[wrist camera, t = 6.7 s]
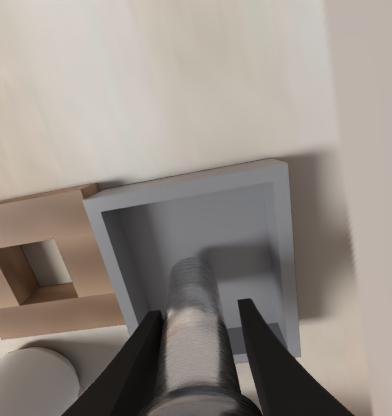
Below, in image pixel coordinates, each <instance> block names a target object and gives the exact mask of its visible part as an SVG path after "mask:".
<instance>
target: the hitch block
mask: <svg viewBox="0 0 392 416" xmlns="http://www.w3.org/2000/svg"><path fill="white" fill-rule="evenodd" d="M98 192H99V189H98V186H97V183H93V184H87V185H82V186H77V187H72V188H66V189H61V190H56V191H50V192H45V193H40V194H35V195H29V196H24V197H19V198H14V199H8V200H3V201H0V338H1V339H2V340H5V339H13V338H21V337H29V336H37V335H45V334H53V333H61V332H69V331H77V330H85V329H93V328H101V327H109V326H117V325H125V324H126V323H125V320H124V317H123V314H122V312H121V309H120V306H119V303H118V300H117V297H116V295H115V292H114V289H113V286H112V283H111V281H110V278H109V275H108V272H107V269H106V266H105V264H104V261H103V258H102V255H101V252H100V250H99V247H98V244H97V241H96V238H95V235H94V233H93V230H92V227H91V224H90V221H89V219H88V216H87V213H86V210H85V207H84V204H83V202H82V200H84V199H86V198H88V197H90V196H92V195H94V194H96V193H98ZM51 239H55V241H56V244H57V246H58V249H59V251H60V253H61V256H62V258H63V261H64V263H65V266H66V268H67V270H68V273H69V275H70V278H71V280H72V282H73V283H68V284H61V285H54V286H47V287H41V288H40V287H39V285H38V283H37V281H36V279H35V277H34V274H33V272H32V270H31V268H30V266H29V264H28V262H27V259H26V257H25V255H24V253H23V251H22V249H21V247H20V245H21V244H27V243H33V242H39V241H45V240H51Z"/></svg>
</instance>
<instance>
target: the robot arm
mask: <svg viewBox="0 0 392 416" xmlns="http://www.w3.org/2000/svg"><path fill="white" fill-rule="evenodd" d="M237 301H238V307H239V313H240V319H241V325H242V332H243V337H244V342H245V348H246V353H247V358H248V361H249V365H250V368H251V372H252V376H253V379H254V383H255V387H256V390H257V394H258V397H259V401H260V405H261V408H262V412H263V416H355V415H353V414H352V413H351V412H350V411H349V410H347V409H346V408H345V407H344V406H343V405H342V404H341V403H340V402H339V401H338V400H337V399H335V398H334V397H333V396H332V395H331V394H330V393H329V392H328V391H327V390H326V389H324V388H323V387H322V386H321V385H320V384H319V383H318V382H317V381H316V380H315V379H314V378H313V377H312V376H311V375H310V374H309V373H308V372H307V371H306V370H305V369H304V368H303V367H302V366H301V364H300V363H299V362H298V361H297V360H296V359H295V358H294V357H293V356H292V355H291V353H290V352H289V351H288V350H287V349H286V348H285V346H284V345H283V344H282V343H281V342H280V340H279V339H278V338H277V337H276V335H275V334H274V333H273V331H272V330H271V329H270V327H269V326H268V325H267V323H266V322H265V320H264V319H263V317H262V316H261V314H260V313H259V311H258V309H257V308H256V306H255V304H254V302H253V300H252V299H250V298H247V299H240V300H237ZM163 321H164V320H163V316H162V313H161V310H154V311H149V312H148V313H147V314H146V316H145V317H144V319H143V320H142V321H141V323H140V324H139V326H138V327H137V328H136V330H135V331H134V333H133V334H132V335H131V337H130V338H129V339H128V341H127V342H126V343H125V345H124V346H123V348H122V349H121V350H120V351H119V353H118V354H117V355H116V357H115V358H114V359H113V360H112V361H111V363H110V364H109V365H108V366H107V368H106V369H105V370H104V371H103V372H102V374H101V375H100V376H99V377H98V378H97V379H96V380H95V382H94V383H93V384H92V385H91V386H90V387H89V388H88V389H87V390H86V391H85V392H84V393H83V394H82V395H81V396H80V397H79V398H78V399H77V400H76V401H75V402H74V403H73V404H72V405H71V406H70V407H69V408H68V409H67V410H66V411H65V412H64V413H63V414H62V415H61V416H138V414H139V413H140V411H141V410H142V409H143V408H144V407H145V406H146V405H147V404H149V403H150V402H151V401H152V400H153V398H154V390H155V383H156V375H157V367H158V359H159V352H160V344H161V336H162V329H163Z"/></svg>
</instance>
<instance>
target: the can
mask: <svg viewBox="0 0 392 416" xmlns="http://www.w3.org/2000/svg"><path fill="white" fill-rule="evenodd" d="M79 389H80V386H79V381H78V377H77V375H76V372H75V368H74V367H73V365H72V364H71V362H70V361H69V360H68V359H67V358H65V357H64V356H63V355H62V354H60V353H58V352H56V351H54V350H51V349H47V348H43V347H30V348H26V349H20V350H16V351H12V352H9V353H7V354H6V355H4V356H3V357H2V358H0V416H61V415H62V414H63V413H64V412H65V411H66V410H67V409H68V408H69V407H70V406H71V405H72V404H73V403H74V402H75V401H76V399H77V397H78V394H79Z"/></svg>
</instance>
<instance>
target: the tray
mask: <svg viewBox="0 0 392 416" xmlns="http://www.w3.org/2000/svg"><path fill="white" fill-rule="evenodd" d="M82 202H83V204H84V207H85V210H86V213H87V216H88V219H89V221H90V224H91V227H92V230H93V233H94V235H95V238H96V241H97V244H98V247H99V250H100V252H101V255H102V258H103V261H104V264H105V266H106V269H107V272H108V275H109V278H110V281H111V283H112V286H113V289H114V292H115V295H116V297H117V300H118V303H119V306H120V309H121V312H122V314H123V317H124V320H125V323H126V326H127V328H128V331H129V334H130V337H131V335H132V334H133V333H134V331H135V330H136V328H137V327H138V326H139V324H140V323H141V321H142V320H143V319H144V317H145V316H146V314H147V313H148V312H149V311H154V310H161V313H162V316H163V320H164V313H165V306H166V298H167V290H168V283H169V275H170V271H171V269H172V267H173V266H174V265H175V264H176V263H177V262H178V261H180V260H182V259H185V258H189V257H197V258H201V259H204V260H206V261H207V262H209V263H210V264H211V266H212V267H213V268H214V271H215V274H216V279H217V284H218V288H219V293H220V298H221V302H222V307H223V311H224V316H225V321H226V325H227V330H228V335H229V339H230V344H231V348H232V353H233V358H234V362H235V364H237V363H246V362H249V361H248V358H247V353H246V348H245V342H244V337H243V332H242V325H241V319H240V313H239V307H238V301H237V300H240V299H247V298H250V299H252V300H253V302H254V304H255V306H256V308H257V309H258V311H259V313H260V314H261V316H262V317H263V319H264V320H265V322H266V323H267V325H268V326H269V327H270V329H271V330H272V331H273V333H274V334H275V335H276V337H277V338H278V339H279V340H280V342H281V343H282V344H283V345H284V346H285V348H286V349H287V350H288V351H289V352H290V353H291V355H292V356H293V357H294V358H295V357H301V348H300V334H299V319H298V304H297V289H296V275H295V260H294V245H293V231H292V216H291V201H290V187H289V172H288V163H286V162H283V161H280V160H276V159H273V158H268V159H262V160H257V161H252V162H246V163H241V164H235V165H230V166H225V167H219V168H214V169H209V170H203V171H198V172H192V173H187V174H182V175H176V176H171V177H166V178H160V179H155V180H150V181H144V182H139V183H133V184H128V185H123V186H117V187H112V188H107V189H104V190H102V191H100V192H98V193H96V194H94V195H92V196H90V197H88V198H86V199H84V200H82Z"/></svg>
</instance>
